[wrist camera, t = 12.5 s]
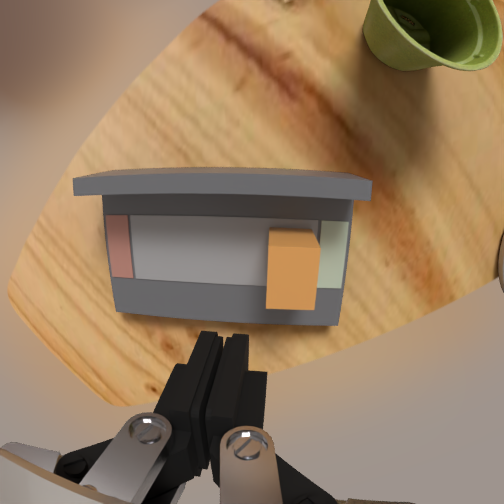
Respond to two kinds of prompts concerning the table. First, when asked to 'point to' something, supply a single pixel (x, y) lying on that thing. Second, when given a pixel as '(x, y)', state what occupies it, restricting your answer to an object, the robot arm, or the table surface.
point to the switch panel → (220, 238)
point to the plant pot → (434, 33)
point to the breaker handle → (292, 269)
